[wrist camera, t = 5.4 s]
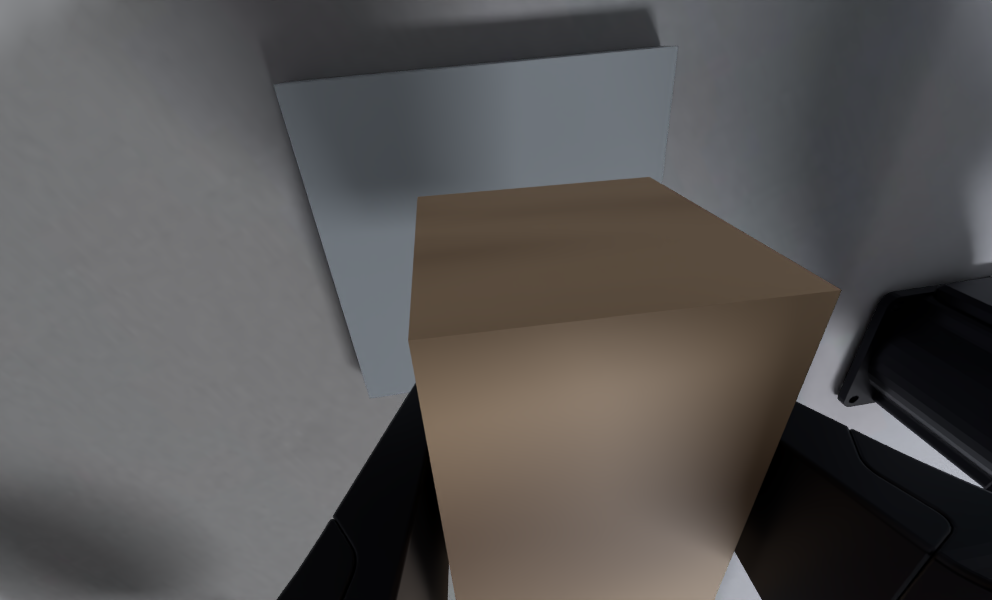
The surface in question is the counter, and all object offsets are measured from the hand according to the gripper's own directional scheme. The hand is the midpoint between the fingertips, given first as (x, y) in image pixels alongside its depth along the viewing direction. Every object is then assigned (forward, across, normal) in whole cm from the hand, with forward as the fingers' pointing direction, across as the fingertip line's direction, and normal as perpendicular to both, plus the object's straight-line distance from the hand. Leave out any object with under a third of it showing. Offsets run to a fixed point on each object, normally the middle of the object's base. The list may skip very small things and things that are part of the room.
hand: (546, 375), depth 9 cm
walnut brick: (+1, 0, 0) cm, 1 cm away
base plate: (+7, 0, 0) cm, 7 cm away
